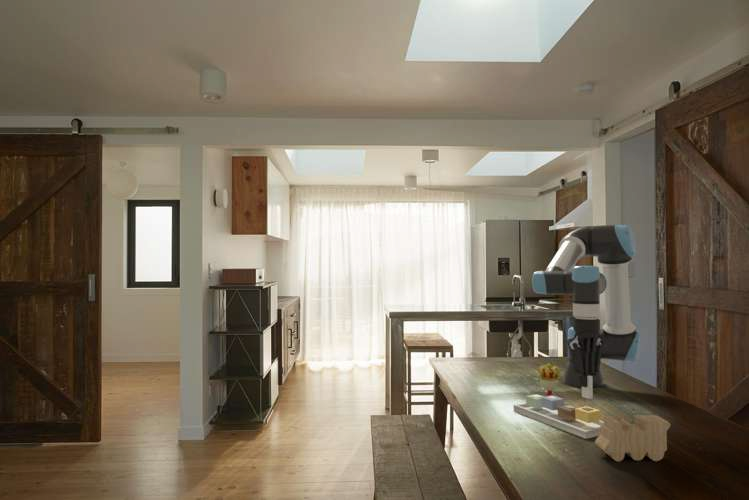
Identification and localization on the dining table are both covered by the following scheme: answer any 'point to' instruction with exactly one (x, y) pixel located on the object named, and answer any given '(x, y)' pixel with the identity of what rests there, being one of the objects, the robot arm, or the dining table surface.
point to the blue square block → (551, 402)
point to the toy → (549, 378)
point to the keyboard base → (560, 421)
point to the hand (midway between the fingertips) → (587, 397)
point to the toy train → (634, 437)
